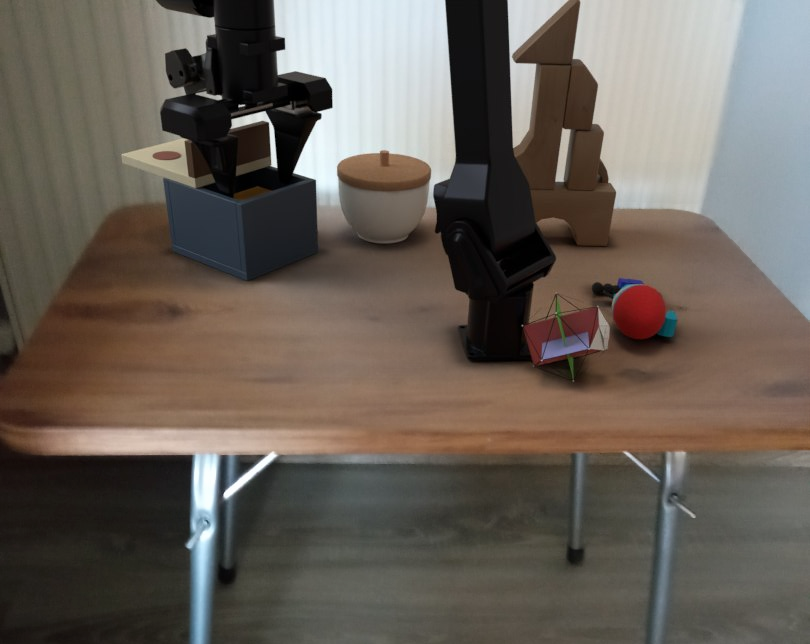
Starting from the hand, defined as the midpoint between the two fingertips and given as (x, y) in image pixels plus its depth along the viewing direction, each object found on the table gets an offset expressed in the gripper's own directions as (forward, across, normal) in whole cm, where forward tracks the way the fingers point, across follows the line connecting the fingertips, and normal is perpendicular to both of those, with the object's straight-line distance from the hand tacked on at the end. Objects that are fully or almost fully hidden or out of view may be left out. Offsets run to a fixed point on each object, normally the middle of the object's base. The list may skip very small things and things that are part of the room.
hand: (256, 191), depth 95 cm
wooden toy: (+7, -28, +19) cm, 34 cm away
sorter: (+7, 0, -2) cm, 8 cm away
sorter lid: (-1, 0, -9) cm, 9 cm away
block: (+6, 0, 0) cm, 6 cm away
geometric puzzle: (+8, 0, +38) cm, 39 cm away
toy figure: (+8, -14, +39) cm, 42 cm away
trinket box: (+7, -15, +5) cm, 17 cm away
